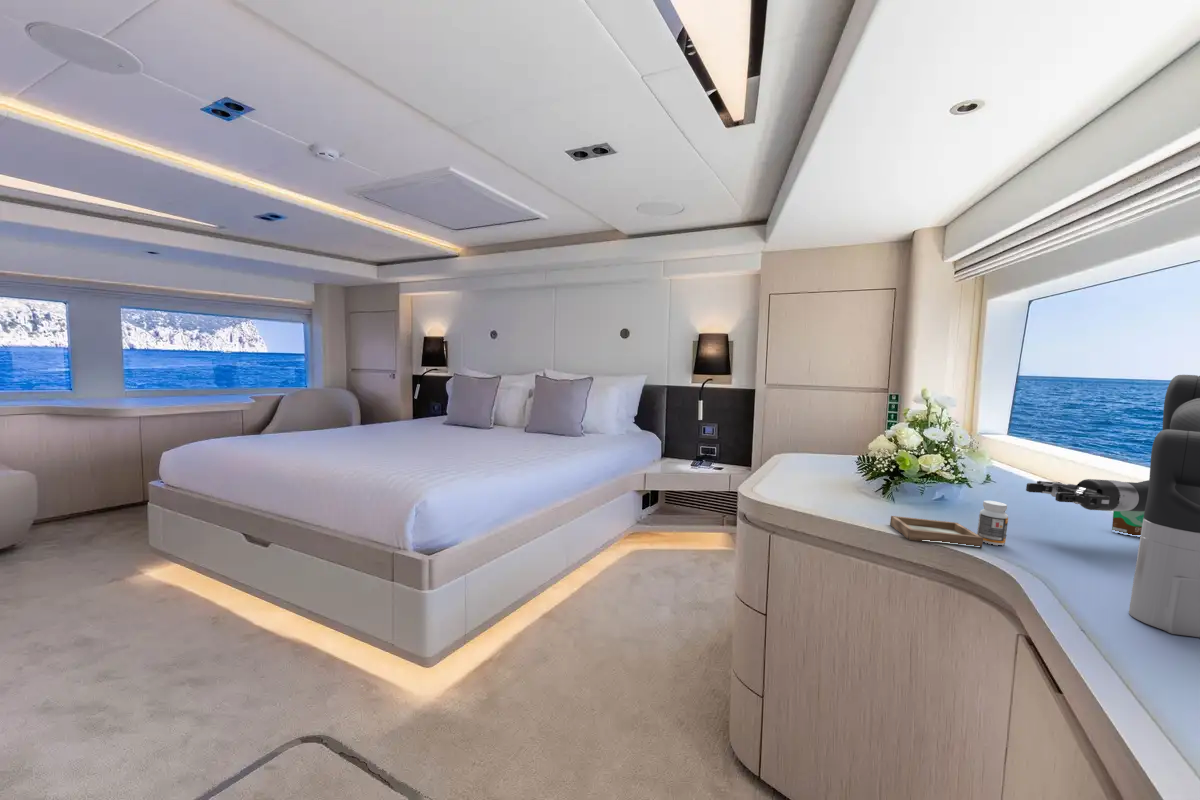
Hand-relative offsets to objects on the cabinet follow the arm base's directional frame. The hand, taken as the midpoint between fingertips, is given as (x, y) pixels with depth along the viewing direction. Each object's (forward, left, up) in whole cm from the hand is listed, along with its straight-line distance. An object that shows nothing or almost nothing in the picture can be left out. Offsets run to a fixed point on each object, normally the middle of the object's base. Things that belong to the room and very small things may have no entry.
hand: (1041, 492), depth 129 cm
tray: (-2, +24, -13) cm, 28 cm away
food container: (+21, -38, -14) cm, 45 cm away
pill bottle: (-2, +11, -14) cm, 18 cm away
